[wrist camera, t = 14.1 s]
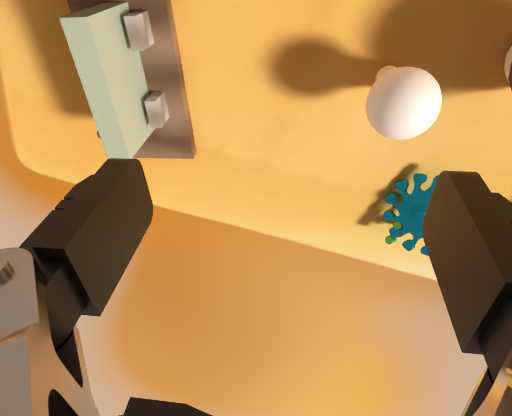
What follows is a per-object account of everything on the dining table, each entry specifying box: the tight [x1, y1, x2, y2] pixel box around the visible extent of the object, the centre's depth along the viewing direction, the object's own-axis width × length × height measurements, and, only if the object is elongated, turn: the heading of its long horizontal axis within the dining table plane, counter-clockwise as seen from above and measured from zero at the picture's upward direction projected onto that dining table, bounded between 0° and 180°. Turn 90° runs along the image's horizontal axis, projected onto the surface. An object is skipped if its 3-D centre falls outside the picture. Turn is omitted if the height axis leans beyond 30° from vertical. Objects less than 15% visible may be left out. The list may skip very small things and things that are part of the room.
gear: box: [383, 173, 439, 256], centre depth 44 cm, size 11×6×10 cm
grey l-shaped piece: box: [67, 0, 196, 159], centre depth 35 cm, size 22×10×12 cm, turn 3°
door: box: [59, 2, 155, 159], centre depth 35 cm, size 13×4×8 cm, turn 3°
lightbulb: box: [366, 66, 442, 140], centre depth 33 cm, size 6×6×11 cm
